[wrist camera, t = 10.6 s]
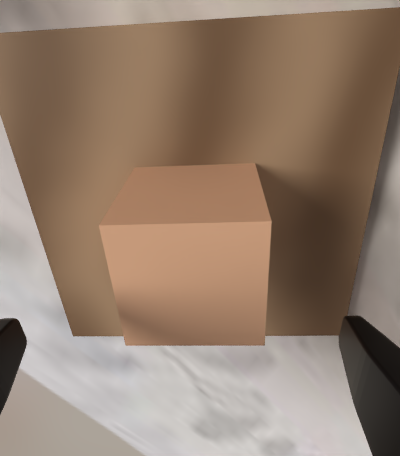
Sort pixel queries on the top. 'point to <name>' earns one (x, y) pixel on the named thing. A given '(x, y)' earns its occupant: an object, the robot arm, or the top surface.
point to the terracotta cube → (190, 255)
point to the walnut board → (207, 140)
